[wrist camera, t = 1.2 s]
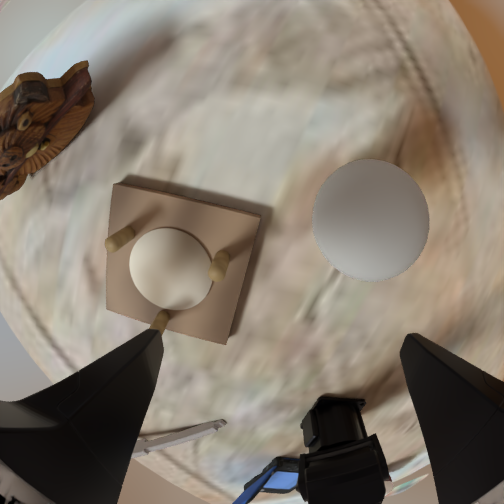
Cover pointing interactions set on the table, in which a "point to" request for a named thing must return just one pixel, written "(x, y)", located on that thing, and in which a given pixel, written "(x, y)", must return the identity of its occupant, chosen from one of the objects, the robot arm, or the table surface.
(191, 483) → the table surface
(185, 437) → the caliper
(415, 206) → the lightbulb
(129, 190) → the pin holder
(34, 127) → the wooden carving
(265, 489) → the handheld game console
